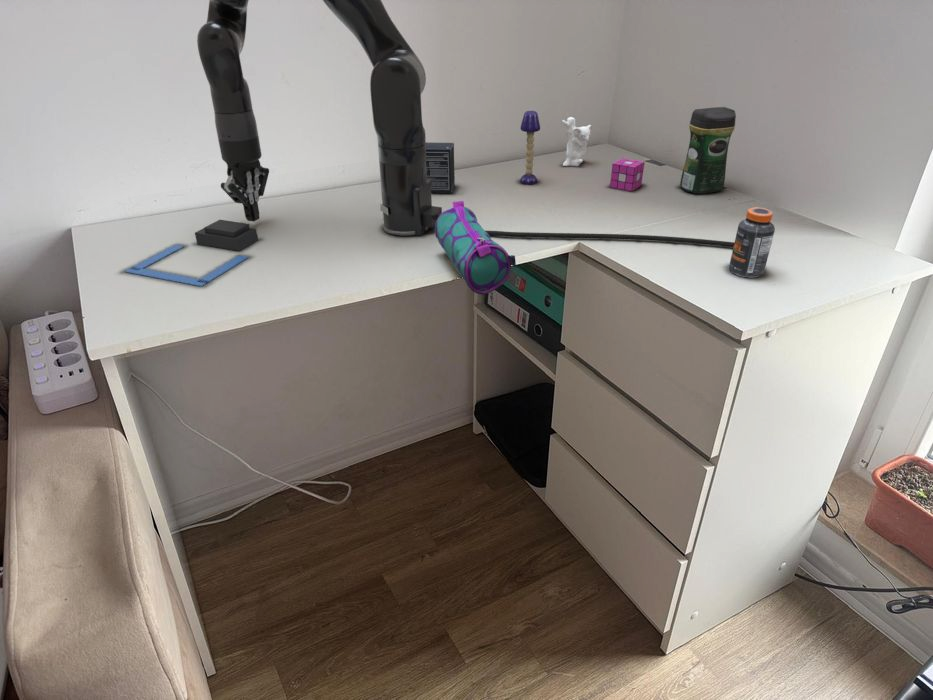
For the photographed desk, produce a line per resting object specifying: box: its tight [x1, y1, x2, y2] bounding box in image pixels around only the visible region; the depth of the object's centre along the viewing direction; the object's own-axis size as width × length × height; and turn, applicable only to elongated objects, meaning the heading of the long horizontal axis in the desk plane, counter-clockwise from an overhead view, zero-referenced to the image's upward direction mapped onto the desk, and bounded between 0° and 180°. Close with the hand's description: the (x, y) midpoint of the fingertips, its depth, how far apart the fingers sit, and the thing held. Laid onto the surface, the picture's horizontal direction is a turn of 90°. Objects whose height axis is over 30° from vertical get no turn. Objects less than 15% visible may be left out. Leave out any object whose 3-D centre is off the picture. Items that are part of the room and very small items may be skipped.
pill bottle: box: [728, 206, 776, 278], centre depth 115 cm, size 6×6×11 cm
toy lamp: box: [519, 110, 541, 185], centre depth 158 cm, size 5×5×17 cm
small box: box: [426, 141, 456, 194], centre depth 155 cm, size 11×6×10 cm, turn 84°
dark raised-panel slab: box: [194, 219, 259, 252], centre depth 130 cm, size 10×6×4 cm, turn 69°
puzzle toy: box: [609, 157, 645, 192], centre depth 158 cm, size 6×6×6 cm
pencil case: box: [434, 200, 517, 296], centre depth 116 cm, size 21×9×10 cm, turn 17°
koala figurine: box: [561, 116, 593, 167], centre depth 172 cm, size 8×7×12 cm
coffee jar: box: [679, 106, 737, 194], centre depth 153 cm, size 10×8×19 cm
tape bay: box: [124, 244, 249, 287], centre depth 122 cm, size 17×13×1 cm
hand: (253, 219), depth 137 cm, fingers closed
